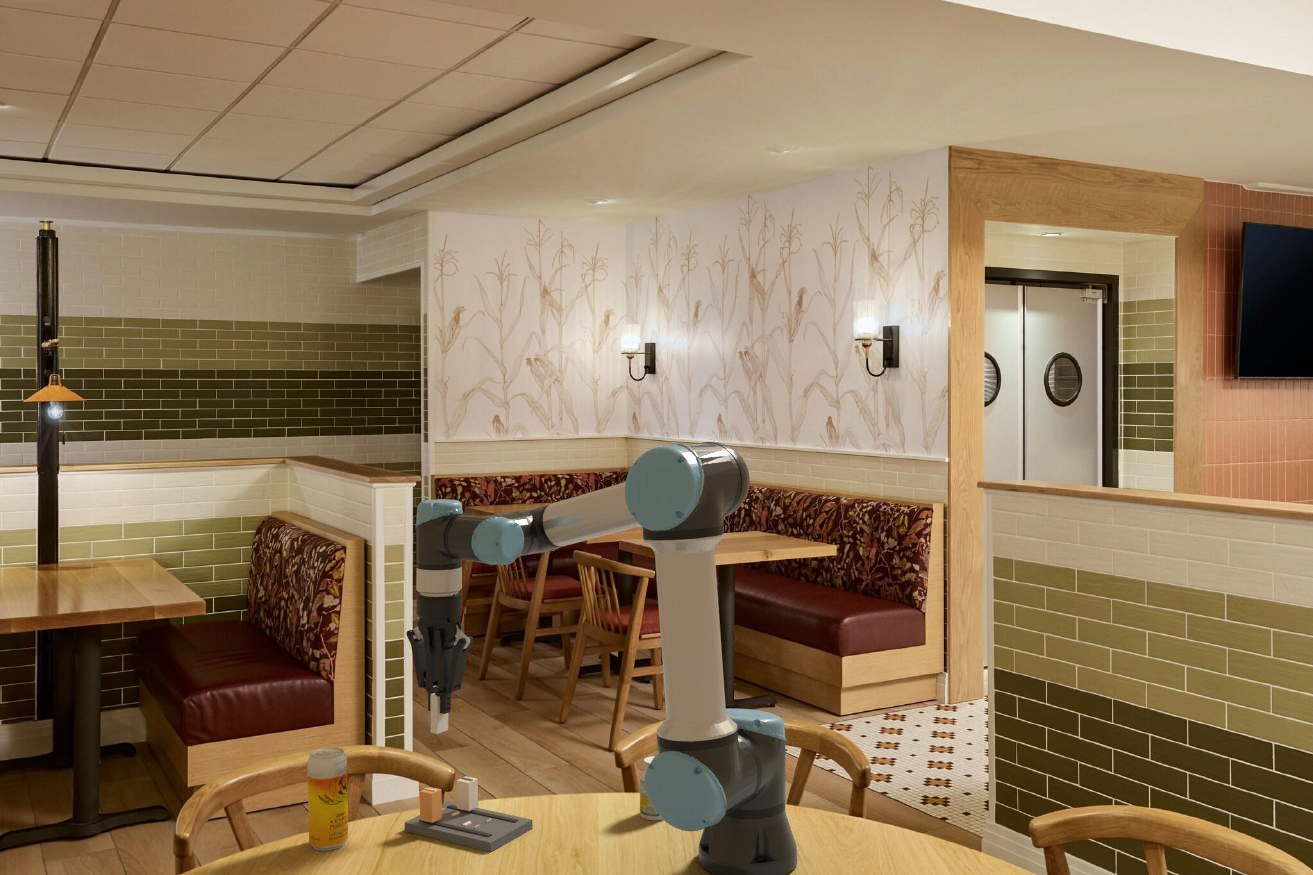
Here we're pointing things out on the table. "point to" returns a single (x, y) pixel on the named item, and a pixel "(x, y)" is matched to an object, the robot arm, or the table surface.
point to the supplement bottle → (645, 805)
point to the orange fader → (430, 804)
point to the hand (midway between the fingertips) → (439, 731)
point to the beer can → (327, 798)
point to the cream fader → (467, 793)
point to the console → (471, 827)
